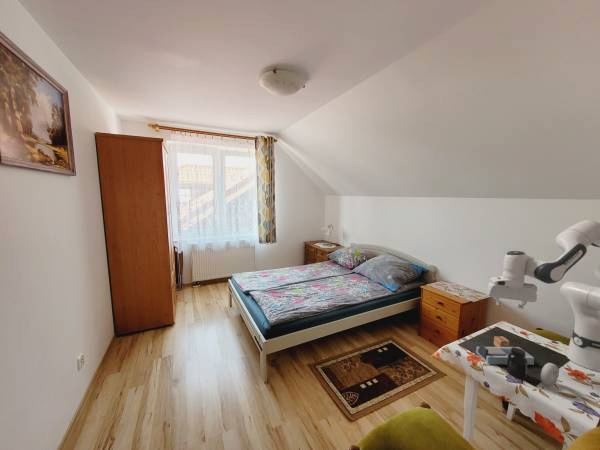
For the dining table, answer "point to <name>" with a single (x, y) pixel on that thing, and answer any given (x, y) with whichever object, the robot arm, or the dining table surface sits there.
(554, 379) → the donut
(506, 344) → the block
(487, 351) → the grey block
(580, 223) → the robot arm
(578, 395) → the dining table surface
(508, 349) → the channel
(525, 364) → the supplement bottle
